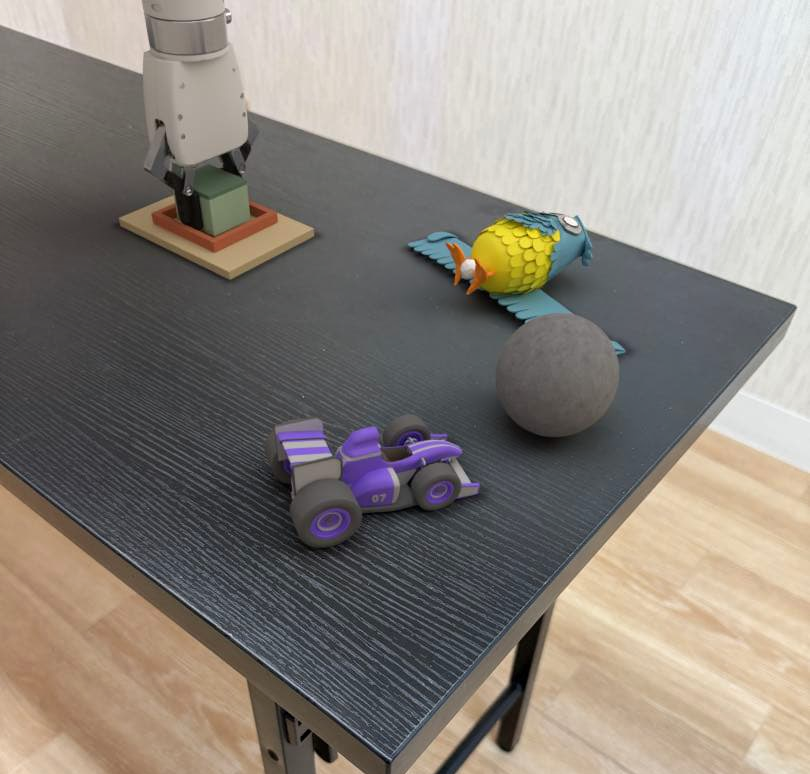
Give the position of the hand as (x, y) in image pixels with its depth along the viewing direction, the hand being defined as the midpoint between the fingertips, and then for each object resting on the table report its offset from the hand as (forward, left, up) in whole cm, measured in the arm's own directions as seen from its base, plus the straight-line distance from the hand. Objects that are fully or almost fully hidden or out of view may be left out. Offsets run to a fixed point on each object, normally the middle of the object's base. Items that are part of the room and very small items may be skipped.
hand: (213, 215), depth 90 cm
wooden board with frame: (0, 0, -2) cm, 2 cm away
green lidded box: (0, 0, 0) cm, 0 cm away
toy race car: (+41, -21, -2) cm, 46 cm away
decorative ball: (+47, -5, -2) cm, 47 cm away
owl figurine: (+33, +11, -2) cm, 35 cm away
